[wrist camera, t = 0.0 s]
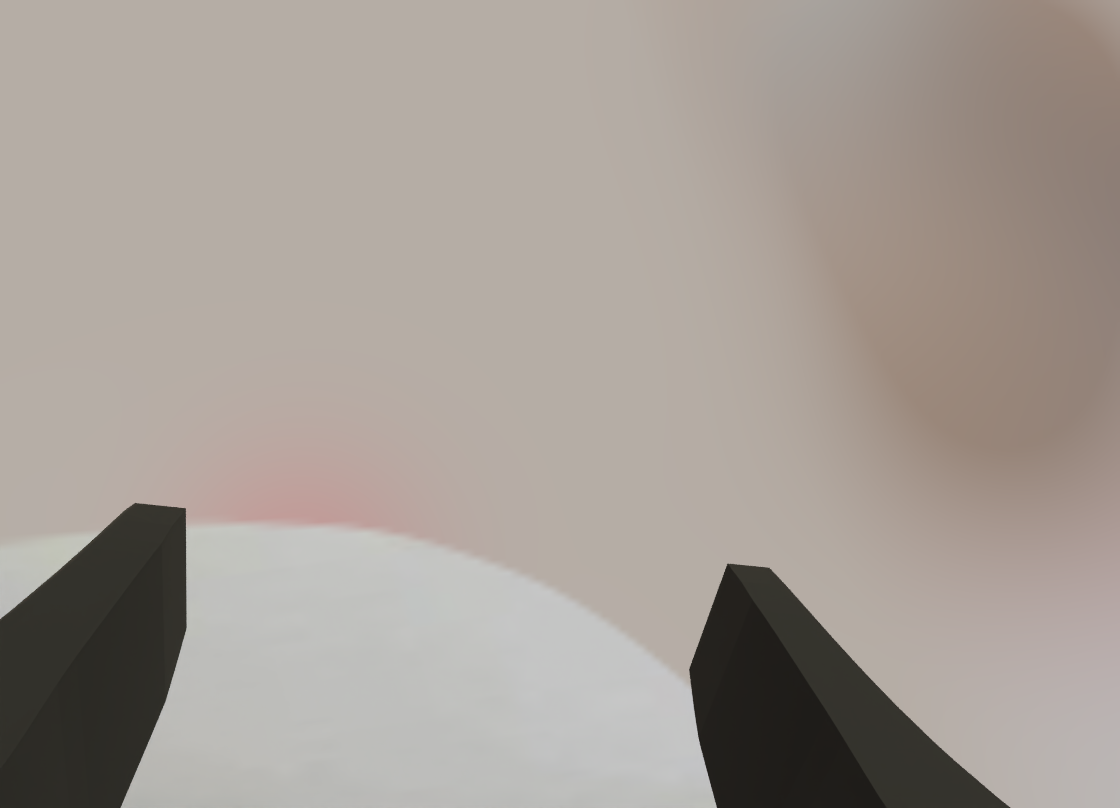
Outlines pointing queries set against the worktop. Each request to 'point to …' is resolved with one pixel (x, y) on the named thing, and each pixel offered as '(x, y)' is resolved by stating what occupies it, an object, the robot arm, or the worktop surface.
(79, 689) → the robot arm
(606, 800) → the worktop surface
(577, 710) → the worktop surface
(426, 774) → the worktop surface
